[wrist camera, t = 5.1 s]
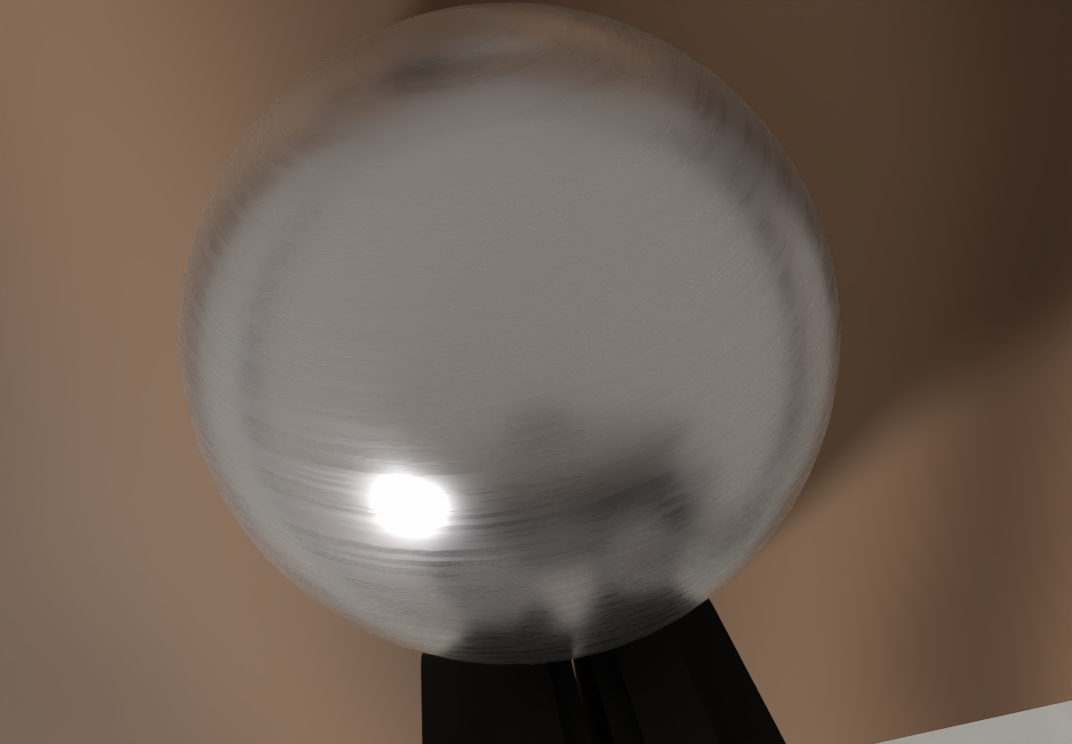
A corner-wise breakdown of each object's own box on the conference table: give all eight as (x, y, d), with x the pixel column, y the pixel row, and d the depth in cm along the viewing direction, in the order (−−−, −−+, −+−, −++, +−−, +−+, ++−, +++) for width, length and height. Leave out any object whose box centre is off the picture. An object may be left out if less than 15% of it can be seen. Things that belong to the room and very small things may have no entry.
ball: (727, 335, 10) (723, -126, 7) (918, 723, 7) (1092, 103, 3) (325, 413, 10) (144, -11, 7) (282, 847, 7) (-148, 349, 3)
